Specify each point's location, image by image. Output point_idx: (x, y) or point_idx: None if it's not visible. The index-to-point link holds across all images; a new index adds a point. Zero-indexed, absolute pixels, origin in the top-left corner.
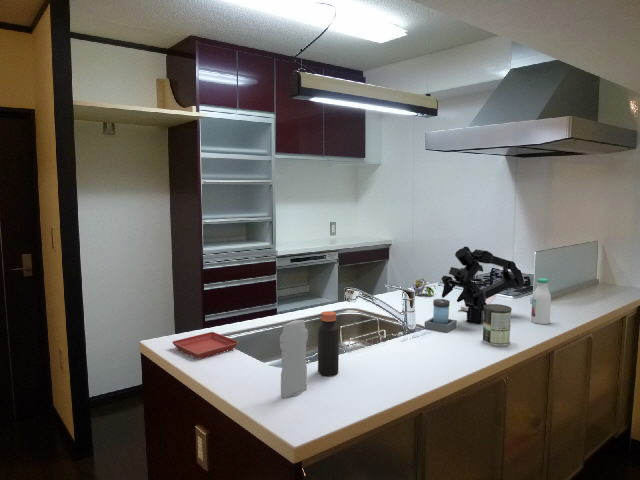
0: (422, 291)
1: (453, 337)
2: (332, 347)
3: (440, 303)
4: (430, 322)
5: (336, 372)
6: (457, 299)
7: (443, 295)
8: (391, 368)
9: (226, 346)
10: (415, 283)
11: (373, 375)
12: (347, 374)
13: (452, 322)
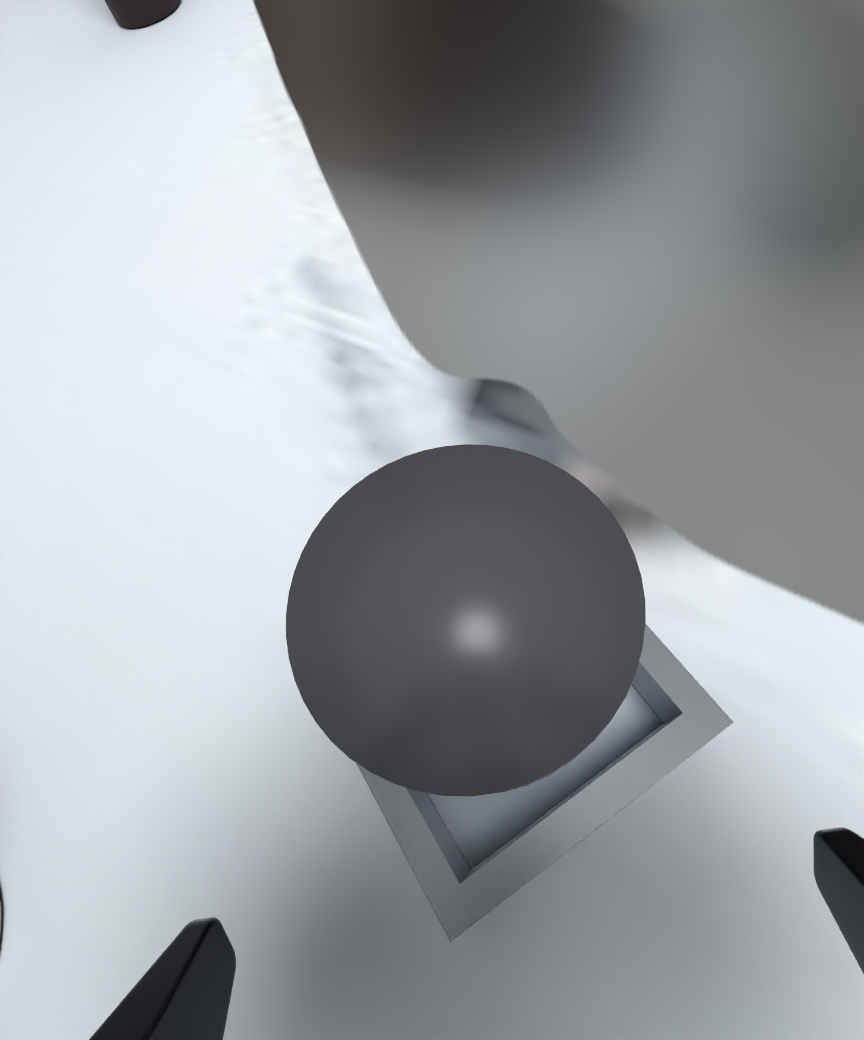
0: None
1: (195, 630)
2: None
3: (342, 509)
4: None
5: (113, 15)
6: (182, 950)
7: (858, 905)
8: (50, 153)
9: None
10: None
11: (45, 101)
12: (104, 48)
13: (383, 793)
